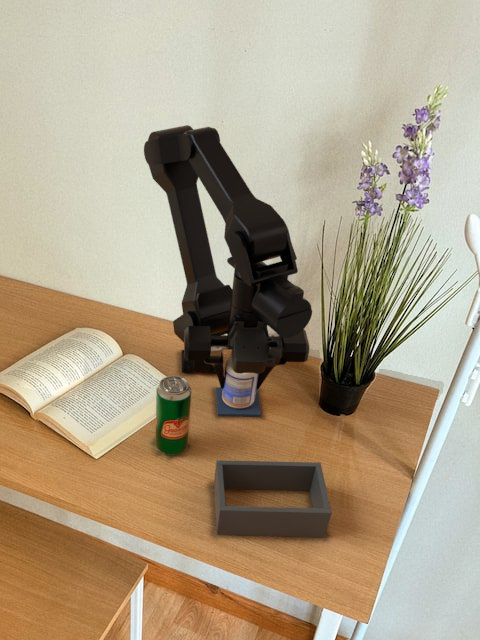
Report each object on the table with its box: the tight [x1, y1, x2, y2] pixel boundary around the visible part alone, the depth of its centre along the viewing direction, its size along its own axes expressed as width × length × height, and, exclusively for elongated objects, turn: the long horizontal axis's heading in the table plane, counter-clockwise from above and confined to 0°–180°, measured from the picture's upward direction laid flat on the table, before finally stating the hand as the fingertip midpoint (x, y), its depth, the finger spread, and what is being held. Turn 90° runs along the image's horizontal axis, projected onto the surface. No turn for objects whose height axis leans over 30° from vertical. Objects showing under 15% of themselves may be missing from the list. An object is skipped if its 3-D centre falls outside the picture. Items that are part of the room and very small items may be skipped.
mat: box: [215, 387, 262, 418], centre depth 115 cm, size 7×7×1 cm
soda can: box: [154, 375, 192, 456], centre depth 104 cm, size 5×5×12 cm
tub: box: [213, 459, 332, 538], centre depth 96 cm, size 10×15×5 cm, turn 87°
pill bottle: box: [222, 351, 259, 408], centre depth 111 cm, size 5×5×10 cm
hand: (239, 387), depth 113 cm, fingers closed on pill bottle, 5 cm apart
